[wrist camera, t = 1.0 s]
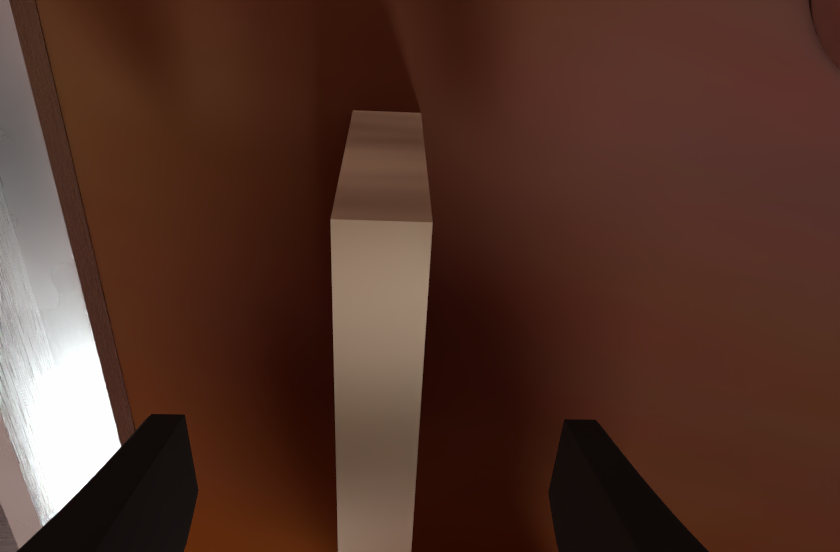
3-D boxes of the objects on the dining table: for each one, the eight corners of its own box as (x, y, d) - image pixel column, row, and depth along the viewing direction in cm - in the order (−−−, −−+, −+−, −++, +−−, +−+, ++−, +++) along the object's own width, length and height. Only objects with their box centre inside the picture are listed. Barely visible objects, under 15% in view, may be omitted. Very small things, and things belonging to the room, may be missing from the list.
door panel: (405, 426, 20) (408, 606, 15) (354, 425, 20) (339, 606, 15) (420, 111, 15) (432, 222, 10) (352, 108, 15) (330, 219, 10)
